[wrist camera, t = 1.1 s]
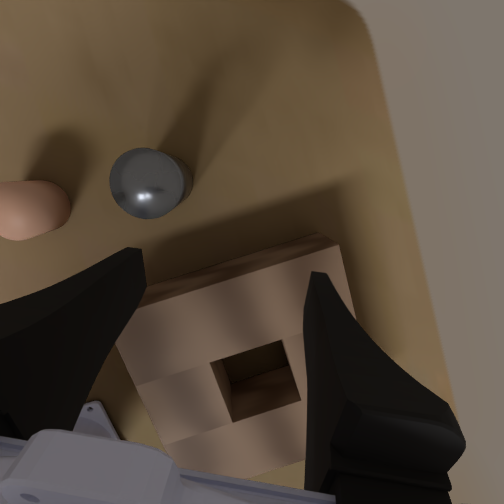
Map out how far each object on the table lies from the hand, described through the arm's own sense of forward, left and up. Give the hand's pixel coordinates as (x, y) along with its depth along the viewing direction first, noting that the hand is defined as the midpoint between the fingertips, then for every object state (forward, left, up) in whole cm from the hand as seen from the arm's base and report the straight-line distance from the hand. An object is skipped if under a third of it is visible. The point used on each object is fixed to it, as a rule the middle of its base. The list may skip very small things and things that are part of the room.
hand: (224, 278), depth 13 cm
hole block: (-1, -12, -14) cm, 19 cm away
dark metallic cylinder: (-3, +5, -14) cm, 15 cm away
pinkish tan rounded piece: (-13, +6, -14) cm, 20 cm away
